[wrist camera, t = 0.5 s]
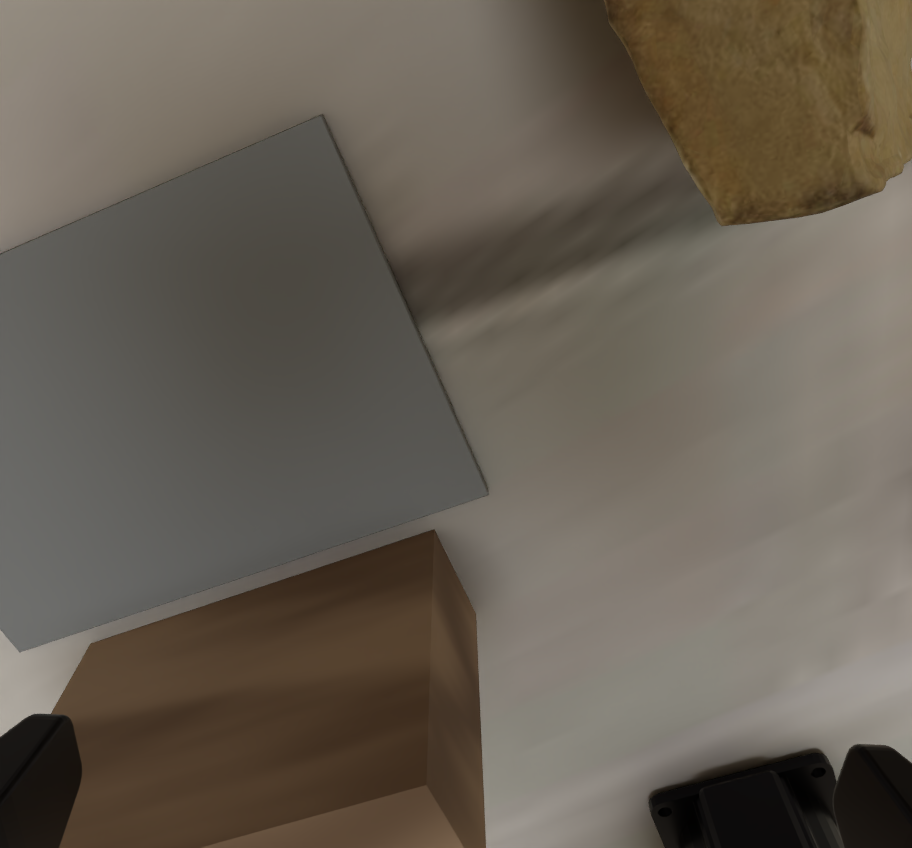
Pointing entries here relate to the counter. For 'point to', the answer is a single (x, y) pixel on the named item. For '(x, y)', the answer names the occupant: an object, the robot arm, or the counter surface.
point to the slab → (289, 716)
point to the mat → (209, 391)
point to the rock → (777, 97)
